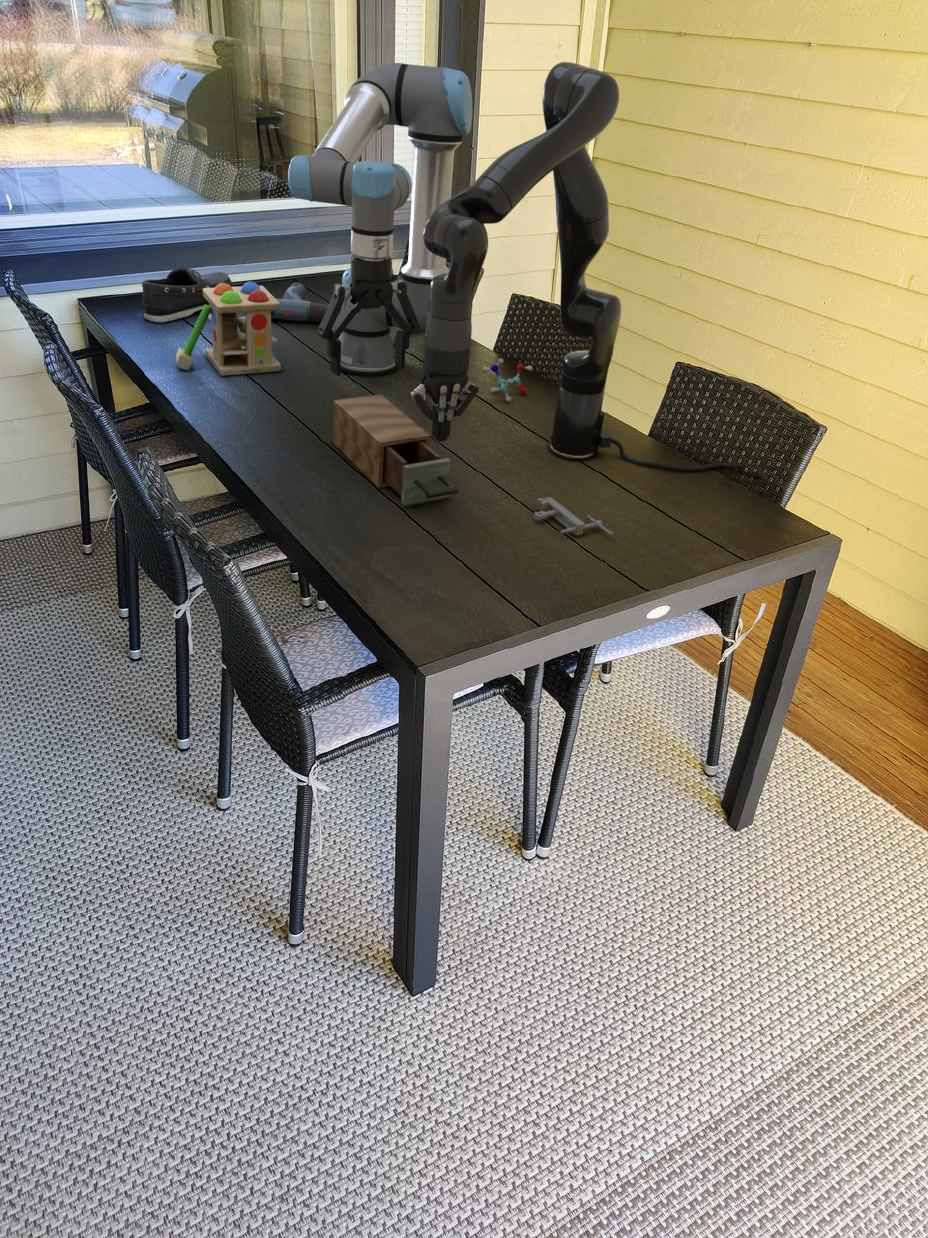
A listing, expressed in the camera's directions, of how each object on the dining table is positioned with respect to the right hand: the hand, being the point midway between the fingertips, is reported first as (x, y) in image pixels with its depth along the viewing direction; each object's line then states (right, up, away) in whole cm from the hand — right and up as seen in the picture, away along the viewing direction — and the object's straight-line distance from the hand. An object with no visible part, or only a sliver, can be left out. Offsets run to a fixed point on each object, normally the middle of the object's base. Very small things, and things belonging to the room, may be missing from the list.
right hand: (440, 439), depth 170 cm
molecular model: (+13, +21, +59) cm, 64 cm away
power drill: (-39, +52, +97) cm, 117 cm away
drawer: (-6, -6, +15) cm, 17 cm away
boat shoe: (-70, +53, +93) cm, 128 cm away
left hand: (-14, +17, +19) cm, 29 cm away
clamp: (+23, -14, +9) cm, 28 cm away
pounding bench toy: (-52, +28, +60) cm, 84 cm away
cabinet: (-13, 0, +25) cm, 28 cm away
